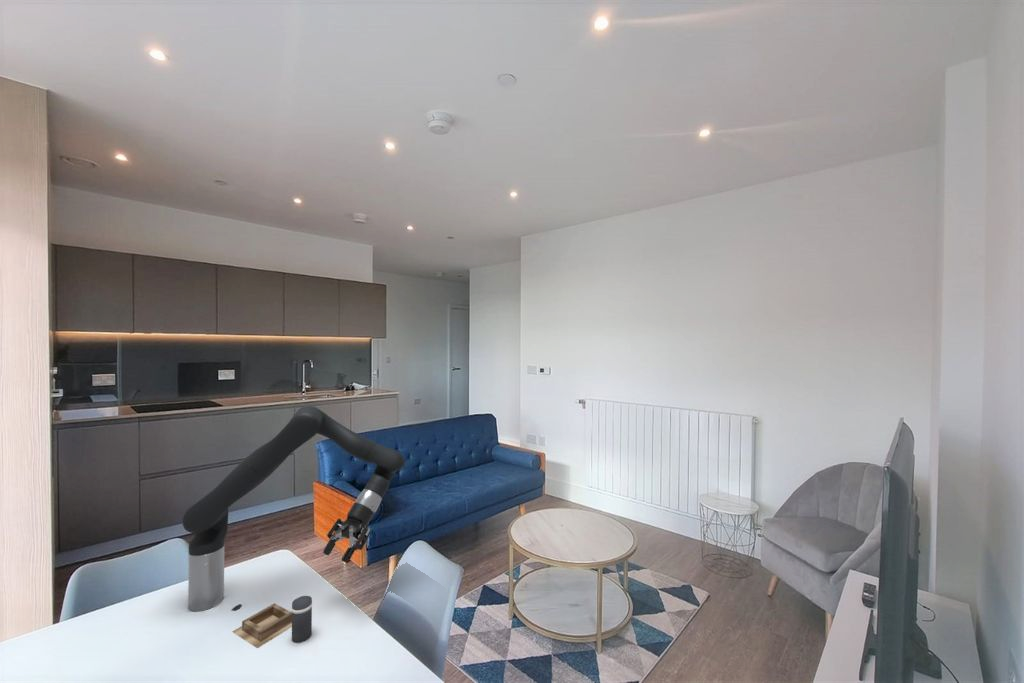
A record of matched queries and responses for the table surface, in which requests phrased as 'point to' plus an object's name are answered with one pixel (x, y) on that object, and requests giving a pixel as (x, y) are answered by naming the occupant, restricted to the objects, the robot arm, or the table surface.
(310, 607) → the dark grey banded cylinder
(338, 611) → the table surface
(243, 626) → the tiered wooden square base
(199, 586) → the robot arm
